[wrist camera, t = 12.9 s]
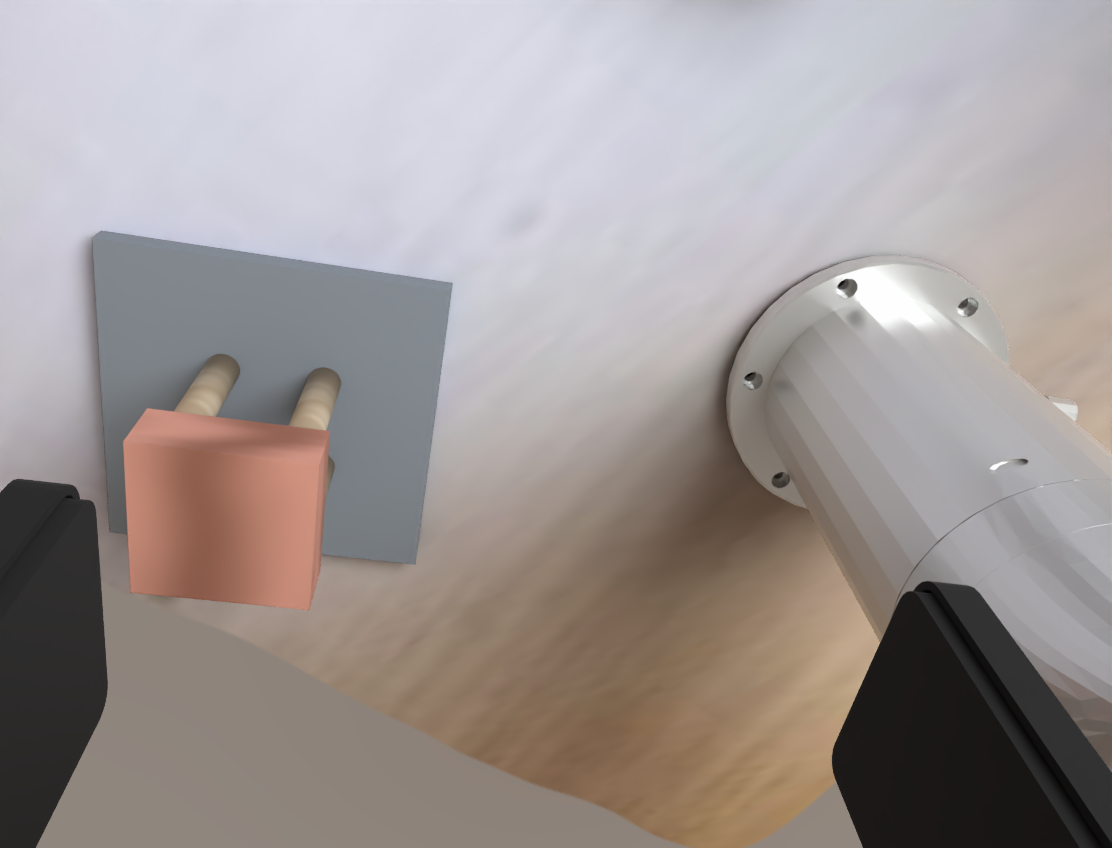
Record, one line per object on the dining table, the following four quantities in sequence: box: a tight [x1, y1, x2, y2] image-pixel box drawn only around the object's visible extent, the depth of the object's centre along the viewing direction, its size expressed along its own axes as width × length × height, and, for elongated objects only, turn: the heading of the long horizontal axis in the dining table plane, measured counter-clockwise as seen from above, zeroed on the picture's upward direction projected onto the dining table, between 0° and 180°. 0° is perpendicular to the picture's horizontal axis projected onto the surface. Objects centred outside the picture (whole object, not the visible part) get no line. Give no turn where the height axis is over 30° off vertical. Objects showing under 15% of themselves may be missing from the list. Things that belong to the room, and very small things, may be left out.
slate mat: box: [92, 231, 452, 564], centre depth 40 cm, size 14×14×1 cm
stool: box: [123, 354, 341, 610], centre depth 36 cm, size 6×6×8 cm
